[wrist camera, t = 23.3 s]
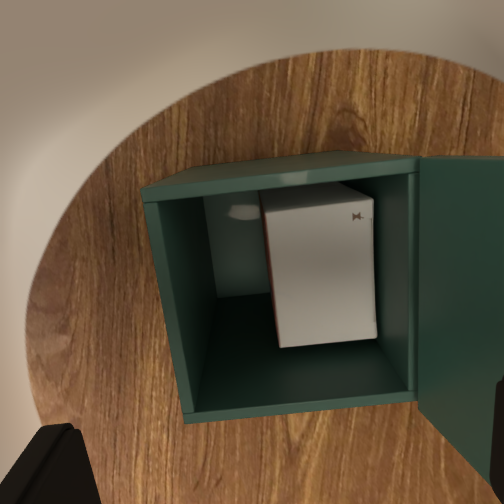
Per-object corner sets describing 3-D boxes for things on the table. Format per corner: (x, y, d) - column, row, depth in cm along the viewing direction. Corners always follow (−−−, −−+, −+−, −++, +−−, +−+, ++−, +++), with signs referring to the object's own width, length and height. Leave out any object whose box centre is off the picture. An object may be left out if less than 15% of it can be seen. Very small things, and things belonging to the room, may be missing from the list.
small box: (257, 185, 29) (261, 207, 19) (331, 176, 29) (375, 194, 19) (267, 284, 31) (277, 351, 21) (336, 276, 31) (379, 341, 21)
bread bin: (211, 302, 32) (184, 424, 18) (191, 167, 29) (139, 188, 15) (345, 288, 32) (421, 400, 18) (338, 150, 29) (423, 156, 15)
